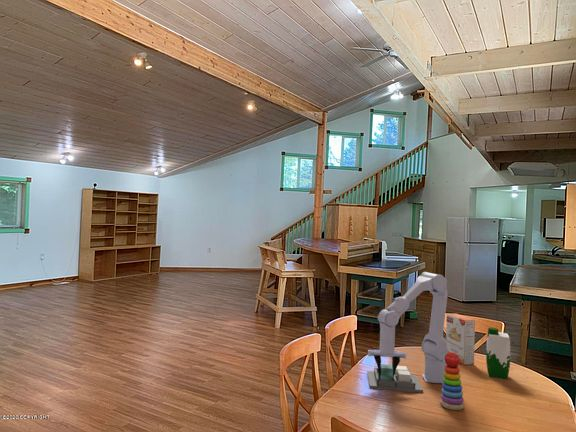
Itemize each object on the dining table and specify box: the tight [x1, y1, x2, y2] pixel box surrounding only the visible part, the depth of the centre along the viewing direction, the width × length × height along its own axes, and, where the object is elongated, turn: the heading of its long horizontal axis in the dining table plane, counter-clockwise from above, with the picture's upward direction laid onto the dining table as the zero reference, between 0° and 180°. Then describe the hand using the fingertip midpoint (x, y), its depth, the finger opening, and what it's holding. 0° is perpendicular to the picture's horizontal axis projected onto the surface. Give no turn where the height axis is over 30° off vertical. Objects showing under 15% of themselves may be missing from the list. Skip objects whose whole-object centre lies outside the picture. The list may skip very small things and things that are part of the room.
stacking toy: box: [439, 352, 465, 411], centre depth 147 cm, size 8×8×19 cm
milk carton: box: [485, 327, 511, 381], centre depth 179 cm, size 9×9×20 cm
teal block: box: [380, 363, 393, 381], centre depth 164 cm, size 4×4×5 cm
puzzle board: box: [366, 365, 424, 394], centre depth 167 cm, size 20×16×6 cm
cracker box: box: [445, 313, 476, 366], centre depth 198 cm, size 14×6×21 cm, turn 14°
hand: (386, 375), depth 164 cm, fingers closed on teal block, 4 cm apart
